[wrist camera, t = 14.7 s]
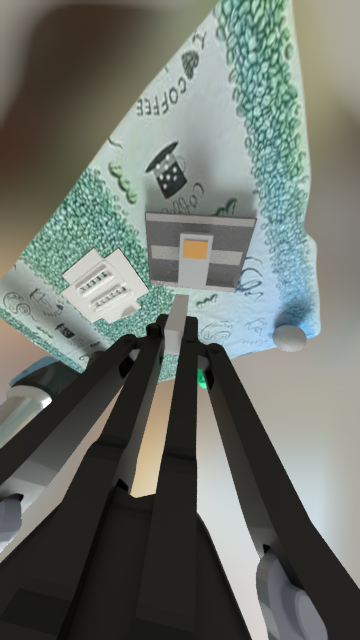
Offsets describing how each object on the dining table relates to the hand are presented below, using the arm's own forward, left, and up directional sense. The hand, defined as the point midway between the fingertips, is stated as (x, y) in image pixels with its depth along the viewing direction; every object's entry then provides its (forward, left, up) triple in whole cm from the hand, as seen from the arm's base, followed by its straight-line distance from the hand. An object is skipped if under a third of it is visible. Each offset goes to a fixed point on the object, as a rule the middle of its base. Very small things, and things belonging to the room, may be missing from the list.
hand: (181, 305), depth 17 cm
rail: (+1, +1, -24) cm, 24 cm away
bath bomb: (+31, -19, -25) cm, 43 cm away
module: (+1, +1, -23) cm, 23 cm away
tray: (-27, -12, -25) cm, 39 cm away
